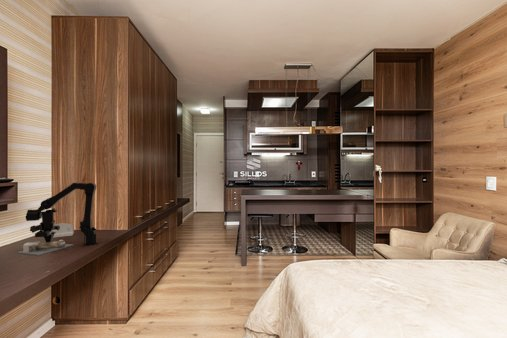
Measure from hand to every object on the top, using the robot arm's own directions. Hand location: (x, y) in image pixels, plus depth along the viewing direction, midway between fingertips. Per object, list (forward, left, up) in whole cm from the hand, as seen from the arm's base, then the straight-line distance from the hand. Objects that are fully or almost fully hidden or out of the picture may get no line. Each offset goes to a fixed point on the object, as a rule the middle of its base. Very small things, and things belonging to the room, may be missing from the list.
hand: (48, 244), depth 168 cm
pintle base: (-2, +3, -2) cm, 4 cm away
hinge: (+23, -25, -2) cm, 34 cm away
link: (-4, +1, -1) cm, 4 cm away
